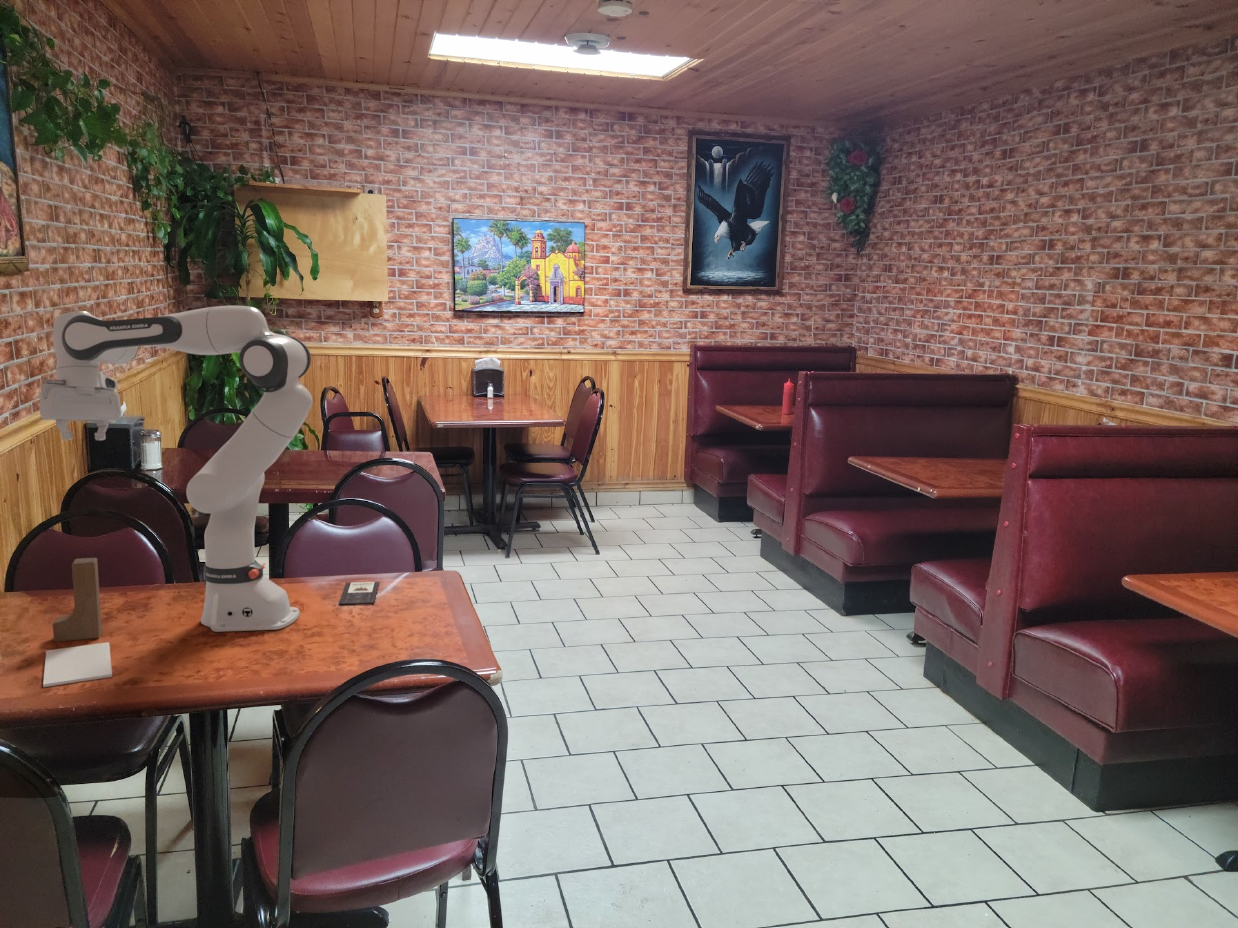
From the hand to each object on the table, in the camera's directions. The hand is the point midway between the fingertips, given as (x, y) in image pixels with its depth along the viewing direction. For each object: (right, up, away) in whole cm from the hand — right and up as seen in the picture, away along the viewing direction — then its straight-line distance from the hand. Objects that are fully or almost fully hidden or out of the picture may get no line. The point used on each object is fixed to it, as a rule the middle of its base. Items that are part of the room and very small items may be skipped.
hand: (84, 440), depth 215 cm
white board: (+11, -48, -21) cm, 54 cm away
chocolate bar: (+56, -41, +31) cm, 76 cm away
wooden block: (+2, -45, -6) cm, 46 cm away
